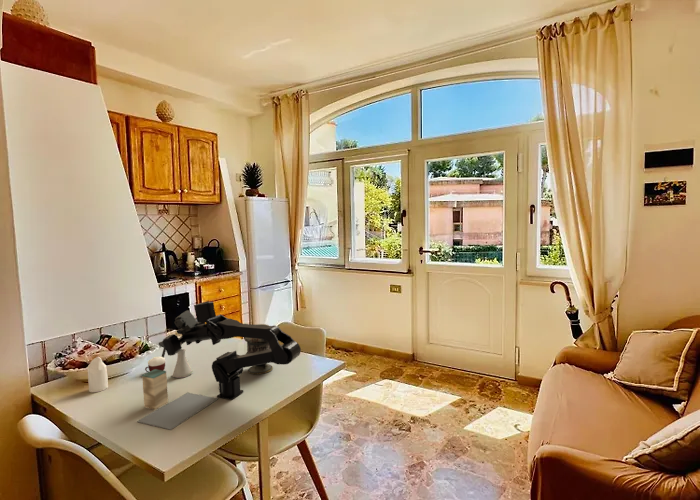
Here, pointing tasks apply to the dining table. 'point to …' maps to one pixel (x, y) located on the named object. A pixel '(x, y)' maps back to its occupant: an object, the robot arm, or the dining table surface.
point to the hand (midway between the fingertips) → (168, 337)
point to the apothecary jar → (257, 346)
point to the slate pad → (177, 411)
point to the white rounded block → (97, 375)
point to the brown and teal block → (155, 389)
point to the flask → (182, 366)
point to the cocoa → (157, 362)
